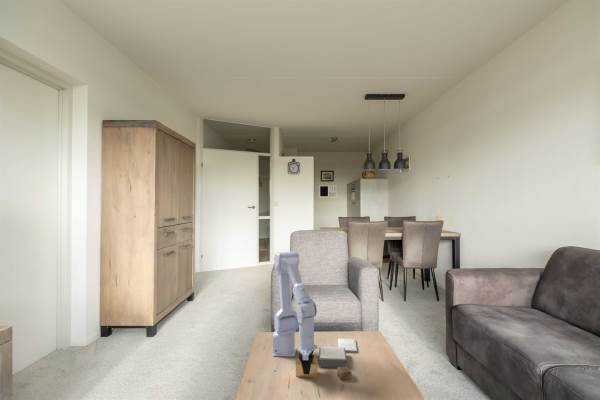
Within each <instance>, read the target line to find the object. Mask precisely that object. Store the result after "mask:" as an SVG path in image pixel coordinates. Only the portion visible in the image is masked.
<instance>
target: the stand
mask: <svg viewBox="0 0 600 400" xmlns="http://www.w3.org/2000/svg"><path fill="white" fill-rule="evenodd" d="M318 348H319V351H318V352H319V353H318V368H330V369H331V368H332V369H337V368H338V367H344V366H347V367H348V360H347V359H348V358H347V353H346V351H345V348H344V347H338V346H336V347H335V346H320V347H318Z"/></svg>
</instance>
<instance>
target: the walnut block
mask: <svg viewBox="0 0 600 400" xmlns="http://www.w3.org/2000/svg"><path fill="white" fill-rule="evenodd" d="M336 375H337V377H338V379H339V380H340V381H341V382H343V381H351V380H352V370H351V369H350V368H349V366H348V365H347V366H344V367H338V368H336Z"/></svg>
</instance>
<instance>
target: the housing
mask: <svg viewBox="0 0 600 400" xmlns="http://www.w3.org/2000/svg"><path fill="white" fill-rule="evenodd" d="M318 368H319V362H318V358H313V360H312V363H311V367H310V373H309V374H304V373H303V369H302V364H301V361H300V360H299V357H296V361H295V377H296V378H318V373H319V372H318Z"/></svg>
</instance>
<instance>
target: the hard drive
mask: <svg viewBox="0 0 600 400" xmlns="http://www.w3.org/2000/svg"><path fill="white" fill-rule="evenodd" d="M337 347H344V348H345V351H346V354H348V353H349V354H358V348H357V341H356V339H355V338H338V339H337Z"/></svg>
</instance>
